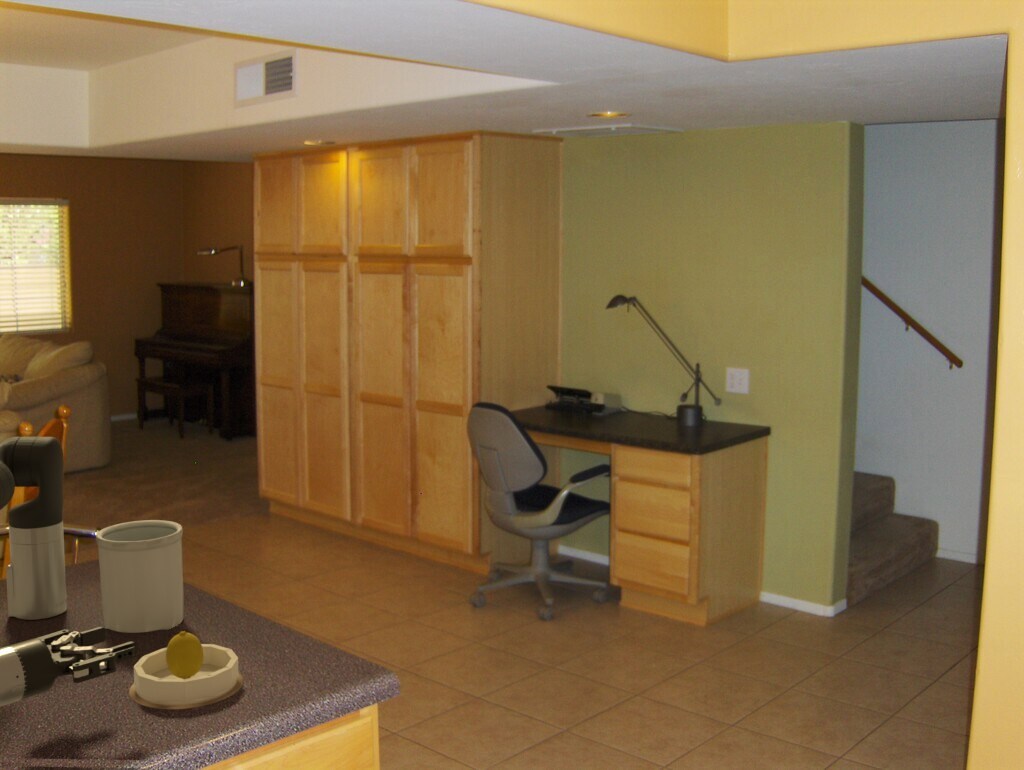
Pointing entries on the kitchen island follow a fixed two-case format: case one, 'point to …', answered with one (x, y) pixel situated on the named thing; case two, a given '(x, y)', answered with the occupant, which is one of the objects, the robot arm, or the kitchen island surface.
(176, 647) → the lemon
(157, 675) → the bowl
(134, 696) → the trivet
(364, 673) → the kitchen island surface
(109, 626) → the utensil holder
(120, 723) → the kitchen island surface
